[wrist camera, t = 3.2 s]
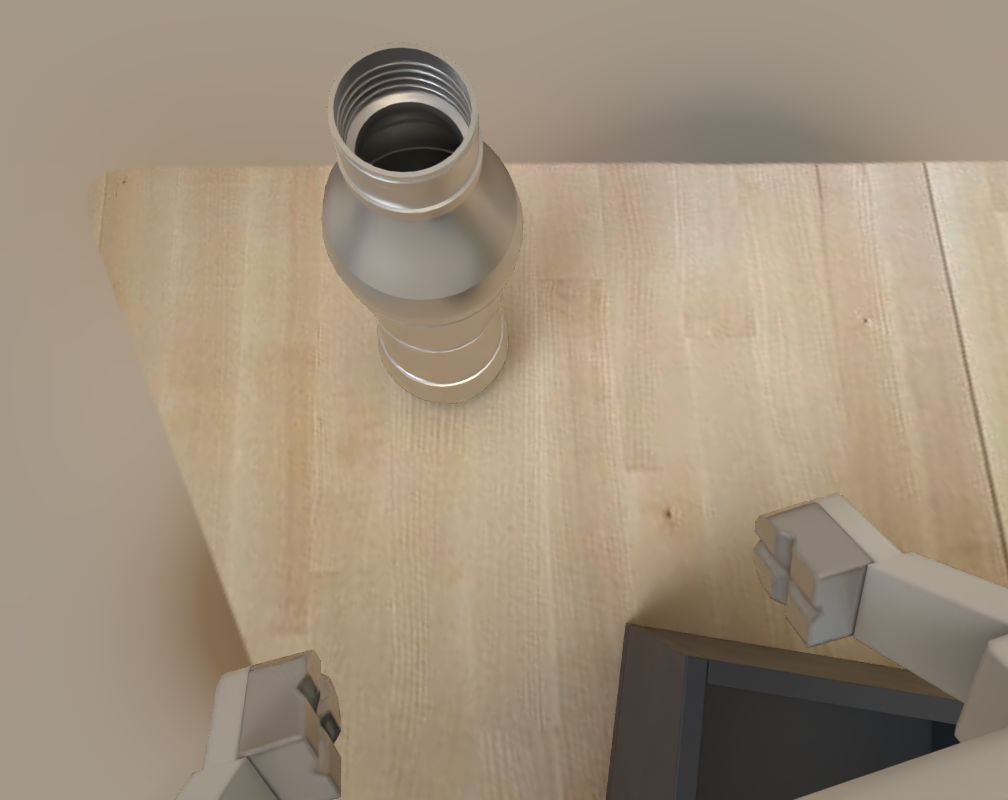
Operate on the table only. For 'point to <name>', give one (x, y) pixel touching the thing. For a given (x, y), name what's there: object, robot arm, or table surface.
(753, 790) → the waste bin
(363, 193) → the silver bottle
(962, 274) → the table surface
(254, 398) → the table surface
